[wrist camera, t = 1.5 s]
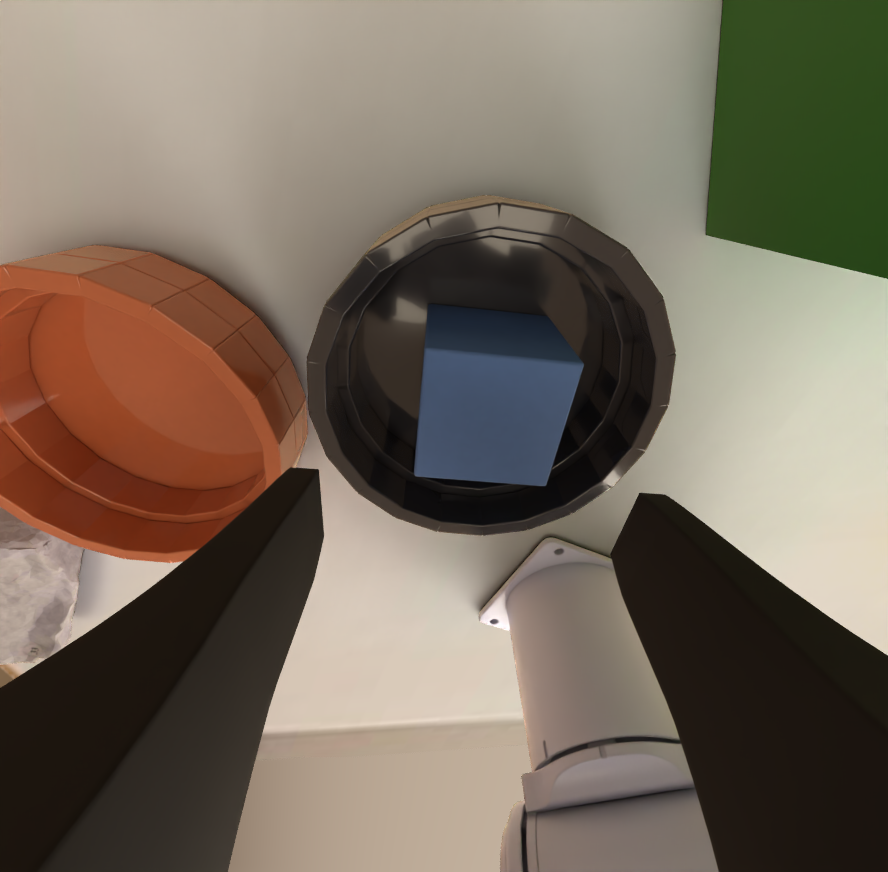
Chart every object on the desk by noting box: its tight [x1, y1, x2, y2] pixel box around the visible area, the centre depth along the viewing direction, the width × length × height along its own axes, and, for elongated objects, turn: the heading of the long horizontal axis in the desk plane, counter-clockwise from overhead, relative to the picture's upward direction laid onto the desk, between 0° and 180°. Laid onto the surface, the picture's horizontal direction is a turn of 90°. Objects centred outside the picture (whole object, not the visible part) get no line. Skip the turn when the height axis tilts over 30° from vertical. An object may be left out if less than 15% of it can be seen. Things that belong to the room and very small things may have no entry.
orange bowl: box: [0, 245, 308, 563], centre depth 16 cm, size 12×12×4 cm
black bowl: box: [307, 195, 676, 536], centre depth 15 cm, size 12×12×4 cm
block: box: [414, 304, 584, 486], centre depth 14 cm, size 4×4×4 cm
